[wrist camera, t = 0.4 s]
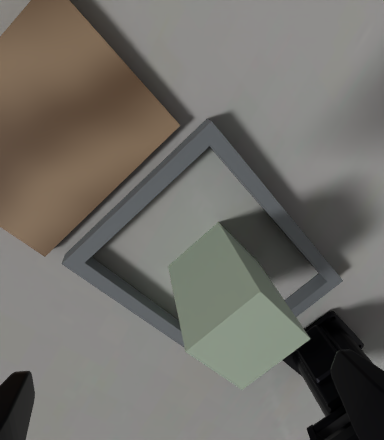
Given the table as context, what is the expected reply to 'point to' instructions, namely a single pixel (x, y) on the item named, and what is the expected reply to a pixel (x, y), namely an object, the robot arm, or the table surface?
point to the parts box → (231, 310)
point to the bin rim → (148, 189)
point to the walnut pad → (67, 122)
